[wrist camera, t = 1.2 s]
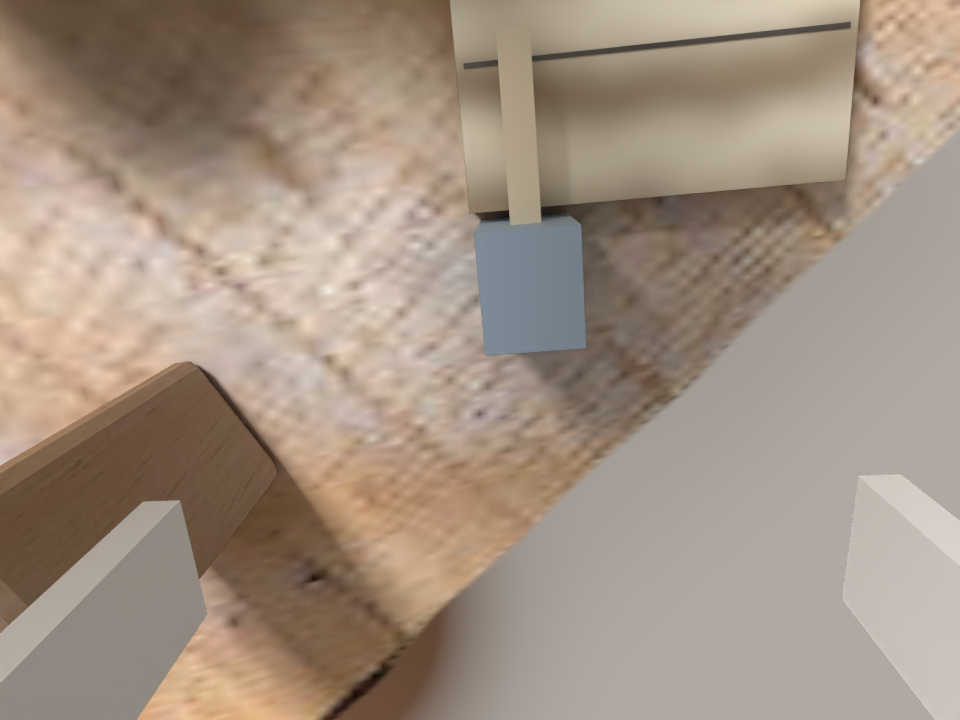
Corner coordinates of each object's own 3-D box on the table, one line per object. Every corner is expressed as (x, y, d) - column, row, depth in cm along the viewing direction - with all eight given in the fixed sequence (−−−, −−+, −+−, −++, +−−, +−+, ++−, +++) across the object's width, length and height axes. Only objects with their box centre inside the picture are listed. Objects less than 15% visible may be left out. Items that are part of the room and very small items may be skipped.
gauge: (466, 53, 34) (454, 20, 26) (558, 43, 33) (572, 6, 26) (490, 317, 38) (485, 355, 30) (570, 311, 38) (586, 348, 30)
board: (451, -20, 33) (446, -36, 30) (840, -66, 31) (868, -86, 29) (472, 210, 36) (469, 213, 34) (822, 178, 35) (846, 179, 32)
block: (287, 469, 42) (103, 722, 23) (179, 534, 44) (-74, 815, 25) (194, 351, 40) (-98, 521, 21) (83, 424, 42) (-275, 642, 23)
